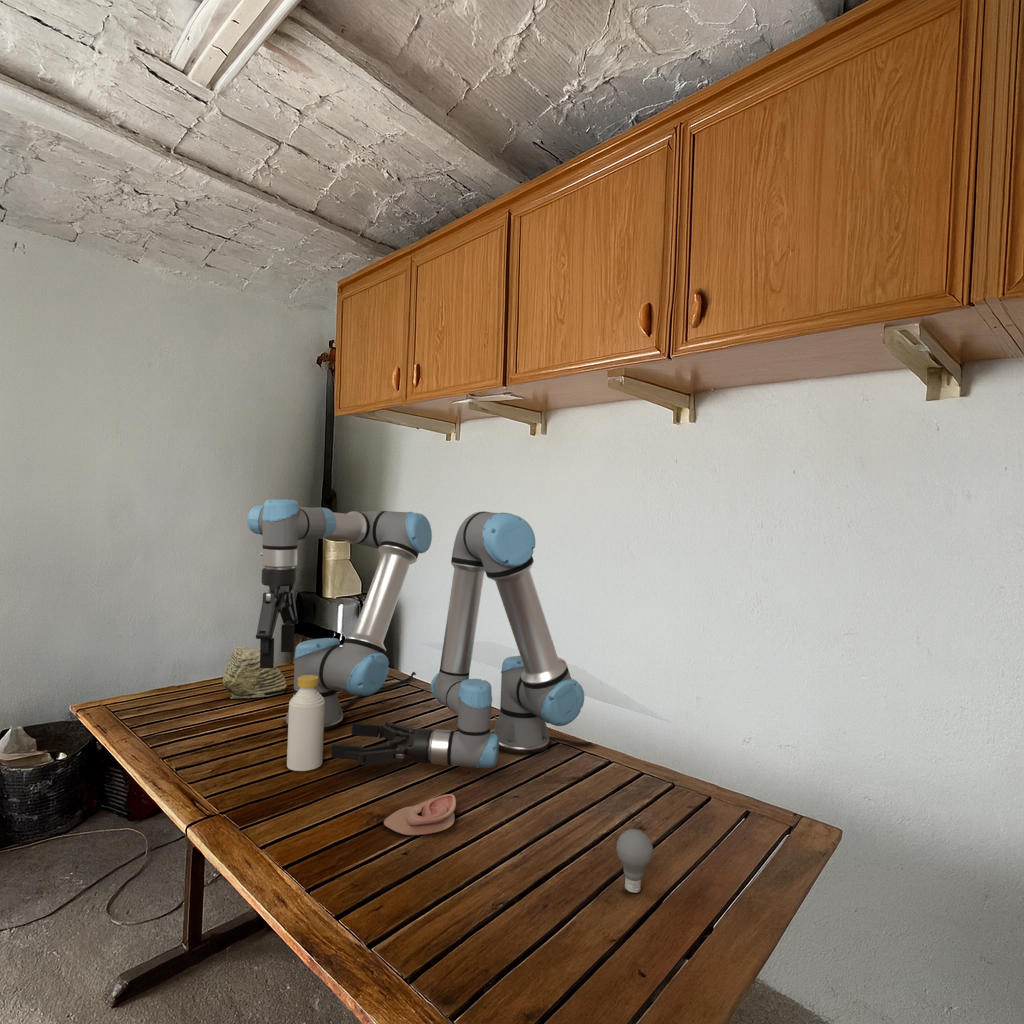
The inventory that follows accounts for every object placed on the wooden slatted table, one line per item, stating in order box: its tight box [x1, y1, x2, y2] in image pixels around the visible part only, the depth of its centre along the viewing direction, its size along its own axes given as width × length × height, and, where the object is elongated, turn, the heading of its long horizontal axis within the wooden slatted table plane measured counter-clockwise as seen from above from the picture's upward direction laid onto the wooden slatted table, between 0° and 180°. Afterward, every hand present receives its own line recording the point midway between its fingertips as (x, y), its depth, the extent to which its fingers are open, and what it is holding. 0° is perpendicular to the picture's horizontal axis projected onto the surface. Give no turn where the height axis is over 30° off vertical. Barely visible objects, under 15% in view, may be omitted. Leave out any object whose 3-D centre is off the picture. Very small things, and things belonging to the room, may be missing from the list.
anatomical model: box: [383, 793, 457, 836], centre depth 125 cm, size 13×4×12 cm
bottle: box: [286, 687, 325, 772], centre depth 149 cm, size 8×8×20 cm
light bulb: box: [615, 828, 654, 894], centre depth 106 cm, size 6×6×10 cm
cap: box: [298, 675, 318, 688], centre depth 149 cm, size 5×5×2 cm
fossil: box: [222, 646, 288, 699], centre depth 198 cm, size 9×18×15 cm, turn 132°
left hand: (277, 659), depth 145 cm, fingers open, 13 cm apart
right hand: (342, 739), depth 148 cm, fingers open, 13 cm apart
